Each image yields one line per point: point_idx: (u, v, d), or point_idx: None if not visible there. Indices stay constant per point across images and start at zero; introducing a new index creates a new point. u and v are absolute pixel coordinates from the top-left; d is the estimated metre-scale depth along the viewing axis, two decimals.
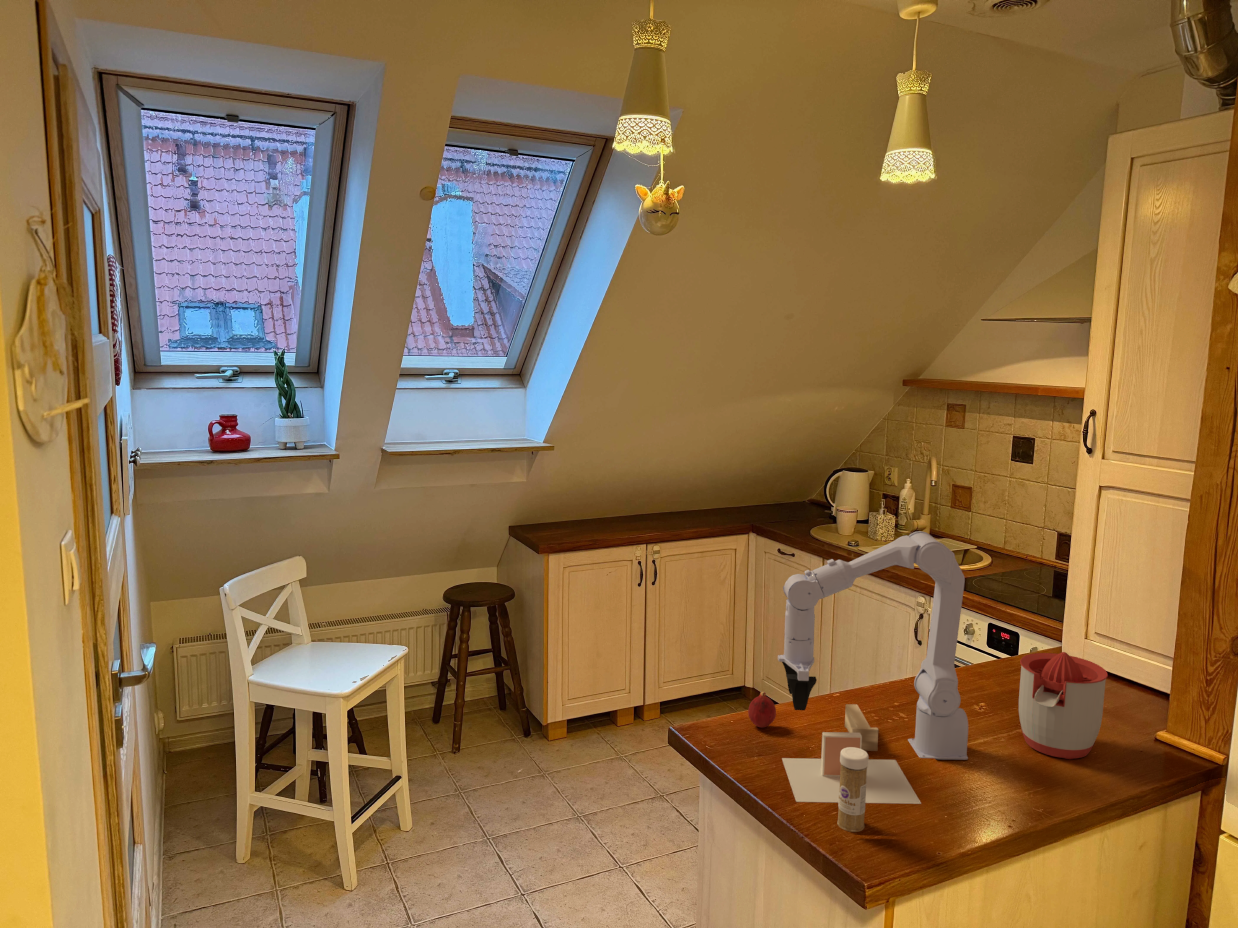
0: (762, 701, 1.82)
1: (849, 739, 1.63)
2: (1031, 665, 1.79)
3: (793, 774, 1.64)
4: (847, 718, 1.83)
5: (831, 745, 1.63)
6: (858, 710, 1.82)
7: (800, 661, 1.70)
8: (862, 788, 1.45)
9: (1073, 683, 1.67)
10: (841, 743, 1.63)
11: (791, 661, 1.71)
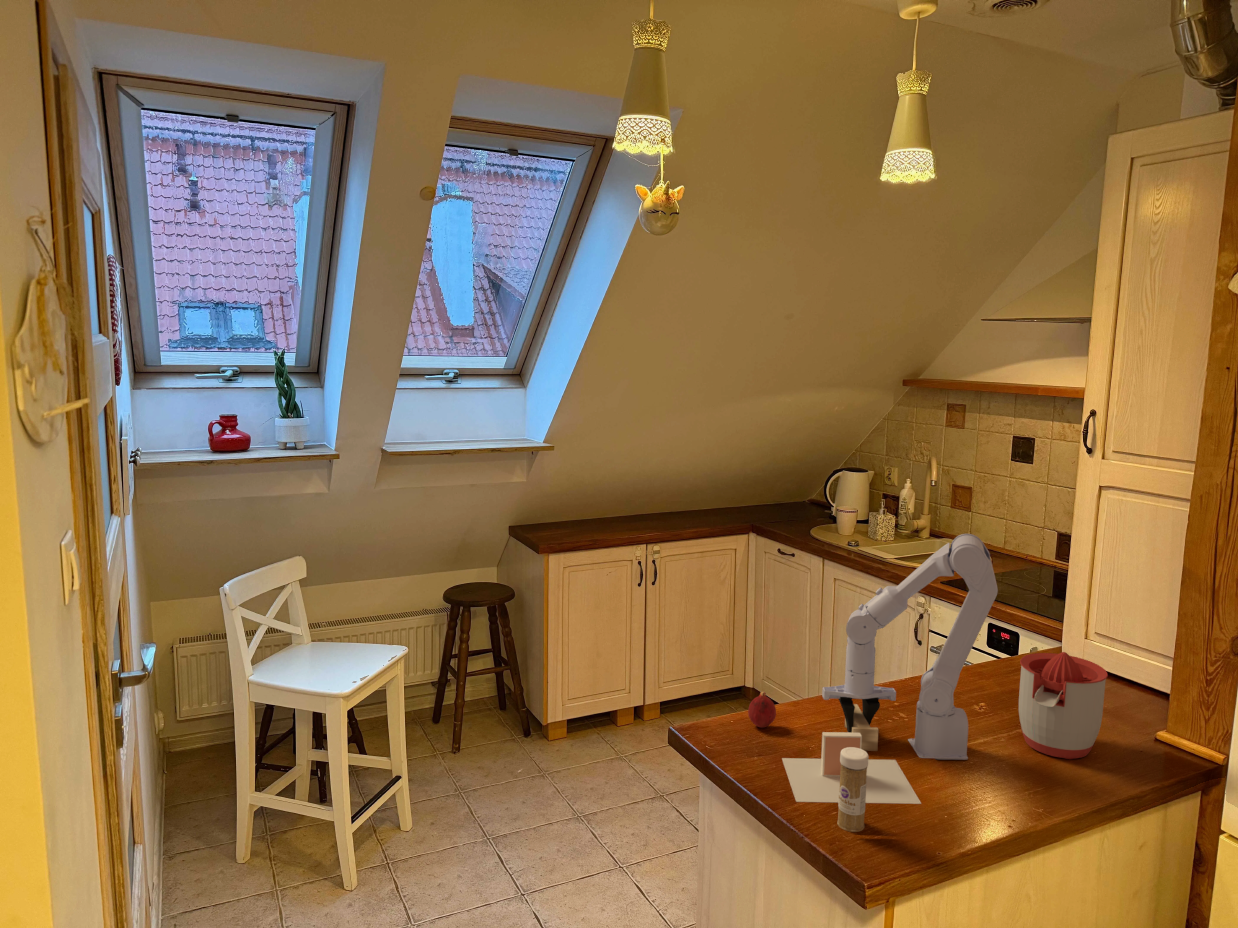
0: (762, 700, 1.82)
1: (849, 739, 1.63)
2: (1031, 665, 1.79)
3: (793, 774, 1.64)
4: None
5: (831, 745, 1.63)
6: (858, 710, 1.82)
7: (845, 688, 1.79)
8: (862, 788, 1.45)
9: (1073, 683, 1.67)
10: (841, 743, 1.63)
11: (845, 685, 1.80)
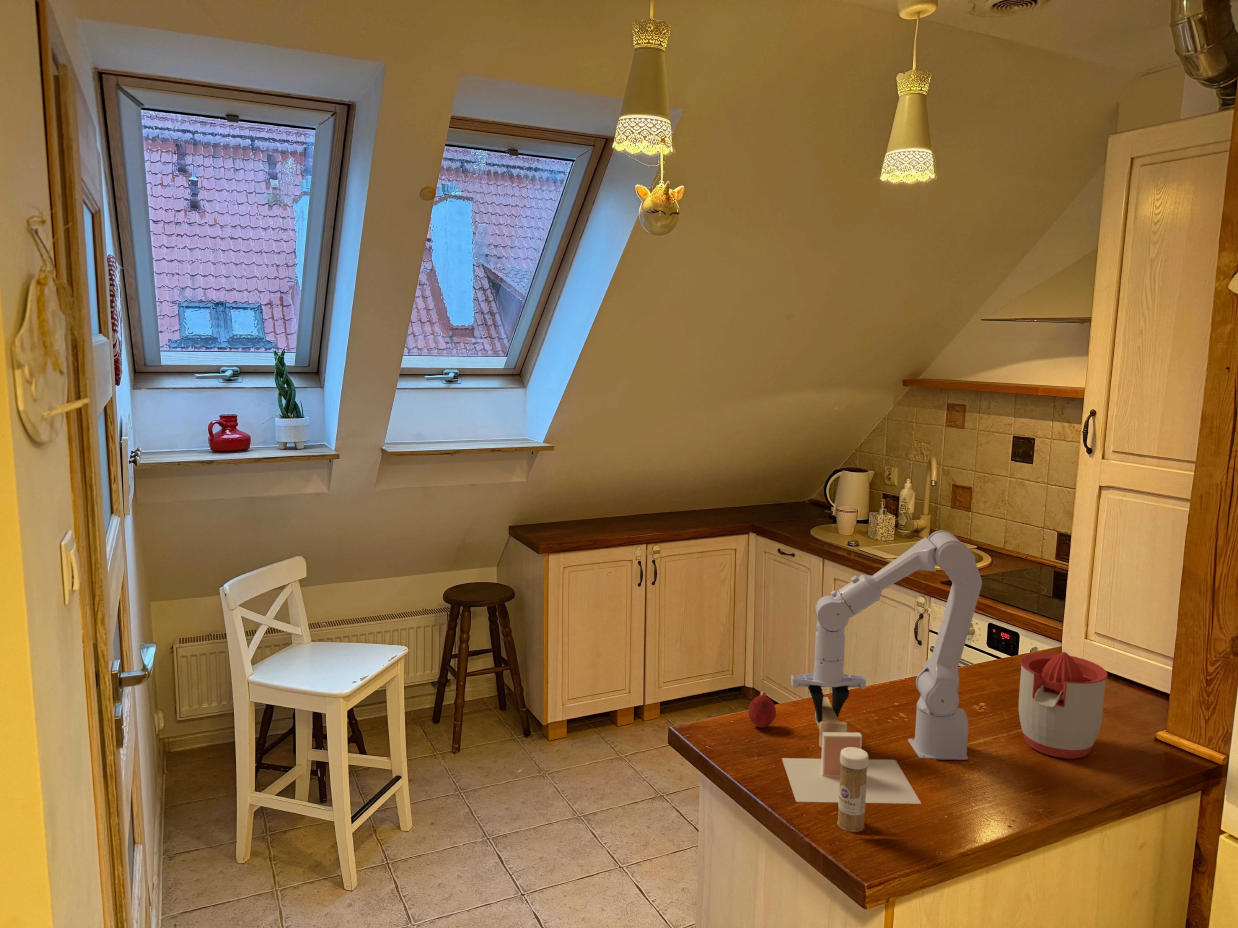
0: (762, 701, 1.82)
1: (849, 739, 1.63)
2: (1031, 665, 1.79)
3: (793, 774, 1.64)
4: None
5: (831, 745, 1.63)
6: (828, 703, 1.78)
7: (814, 676, 1.75)
8: (862, 788, 1.45)
9: (1073, 683, 1.67)
10: (841, 743, 1.63)
11: None
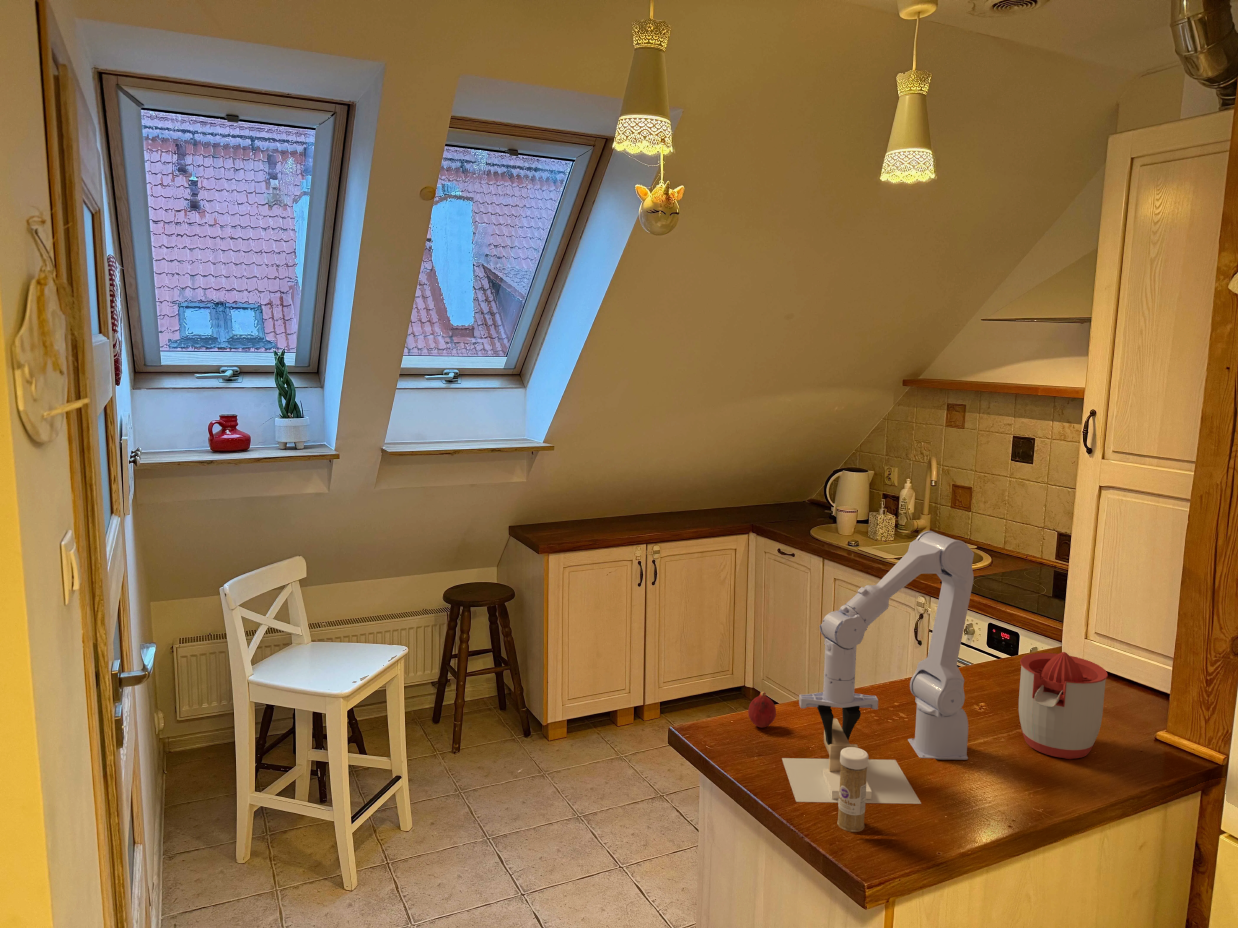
0: (762, 701, 1.82)
1: None
2: (1031, 665, 1.79)
3: (793, 774, 1.64)
4: None
5: None
6: (837, 725, 1.70)
7: (823, 695, 1.66)
8: (862, 788, 1.45)
9: (1073, 683, 1.67)
10: None
11: None
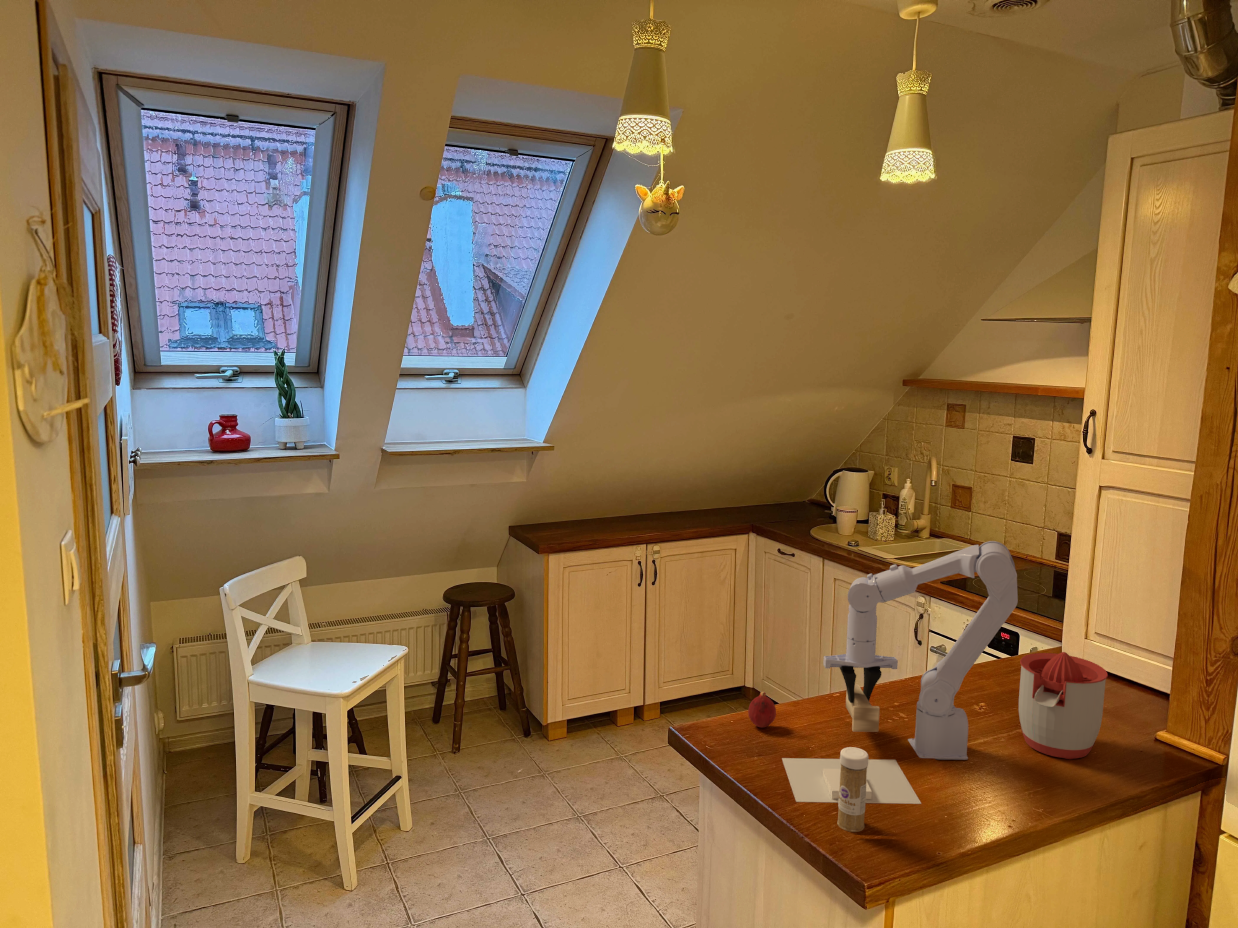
0: (762, 701, 1.82)
1: None
2: (1031, 665, 1.79)
3: (793, 774, 1.64)
4: None
5: None
6: (859, 689, 1.81)
7: (846, 656, 1.78)
8: (862, 788, 1.45)
9: (1073, 683, 1.67)
10: None
11: None
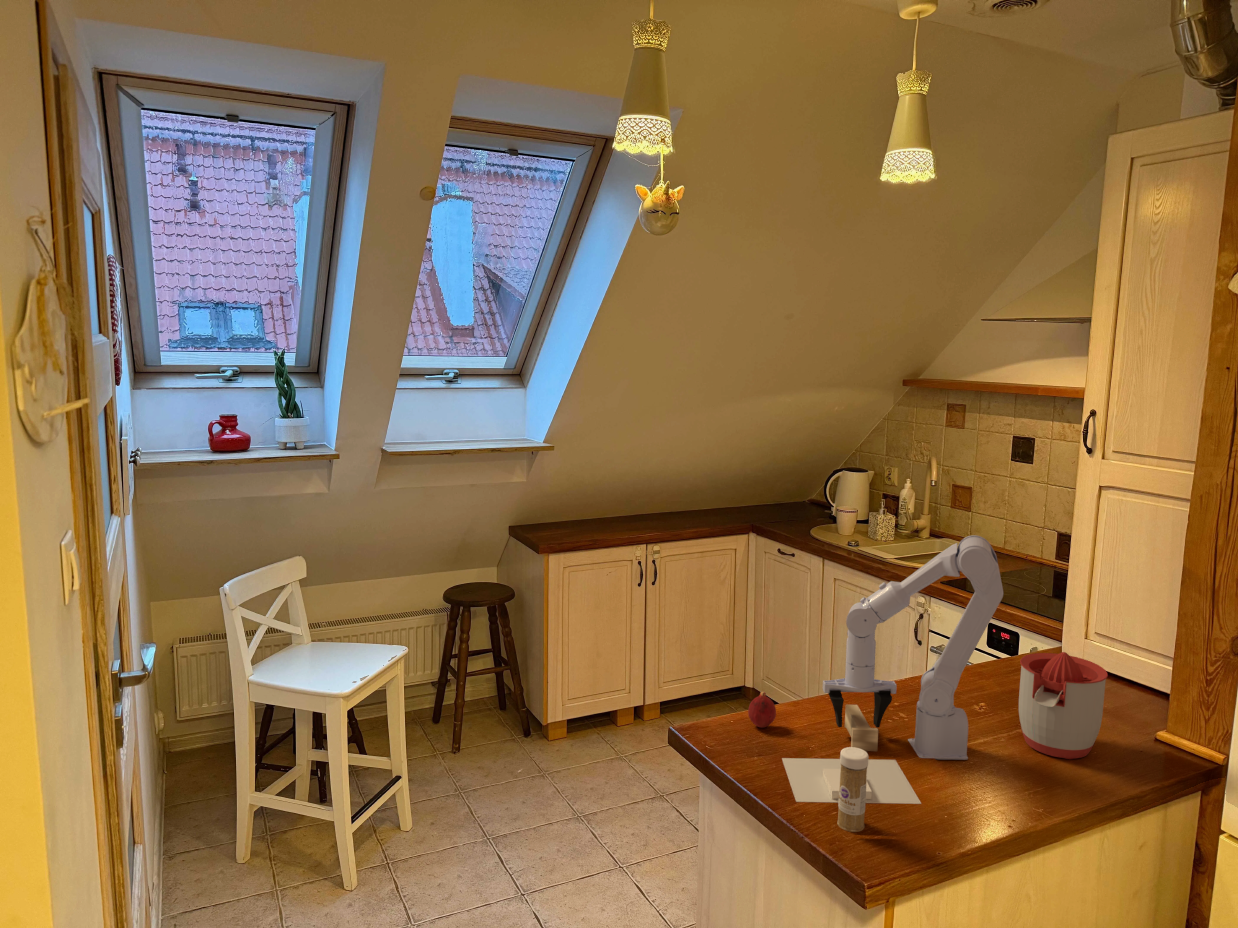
0: (762, 700, 1.82)
1: None
2: (1031, 665, 1.79)
3: (793, 774, 1.64)
4: (847, 718, 1.83)
5: None
6: (858, 710, 1.82)
7: (845, 681, 1.78)
8: (862, 788, 1.45)
9: (1073, 683, 1.67)
10: None
11: None
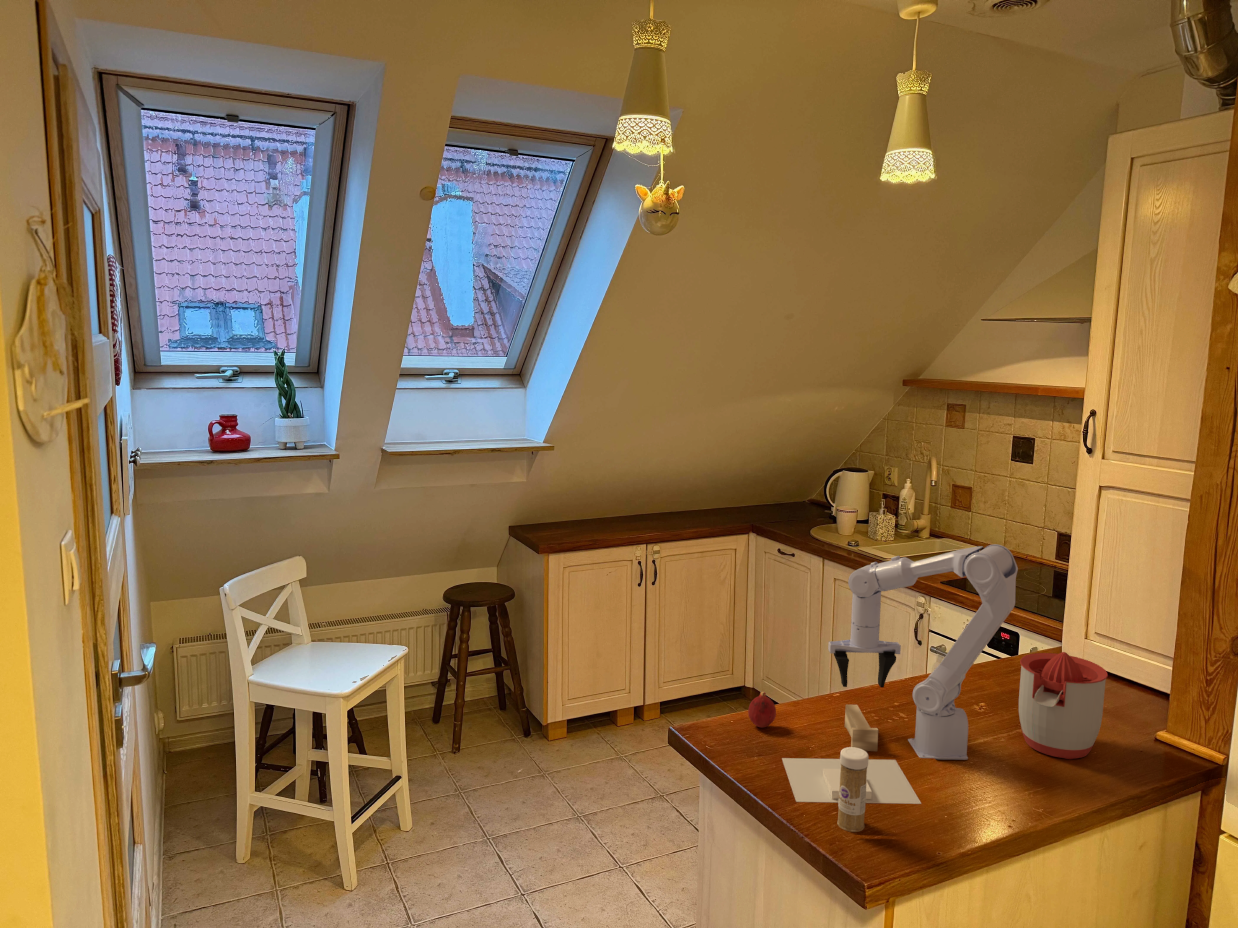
0: (762, 701, 1.82)
1: None
2: (1031, 665, 1.79)
3: (793, 774, 1.64)
4: (847, 718, 1.83)
5: None
6: (858, 710, 1.82)
7: (850, 642, 1.82)
8: (862, 788, 1.45)
9: (1073, 683, 1.67)
10: None
11: None
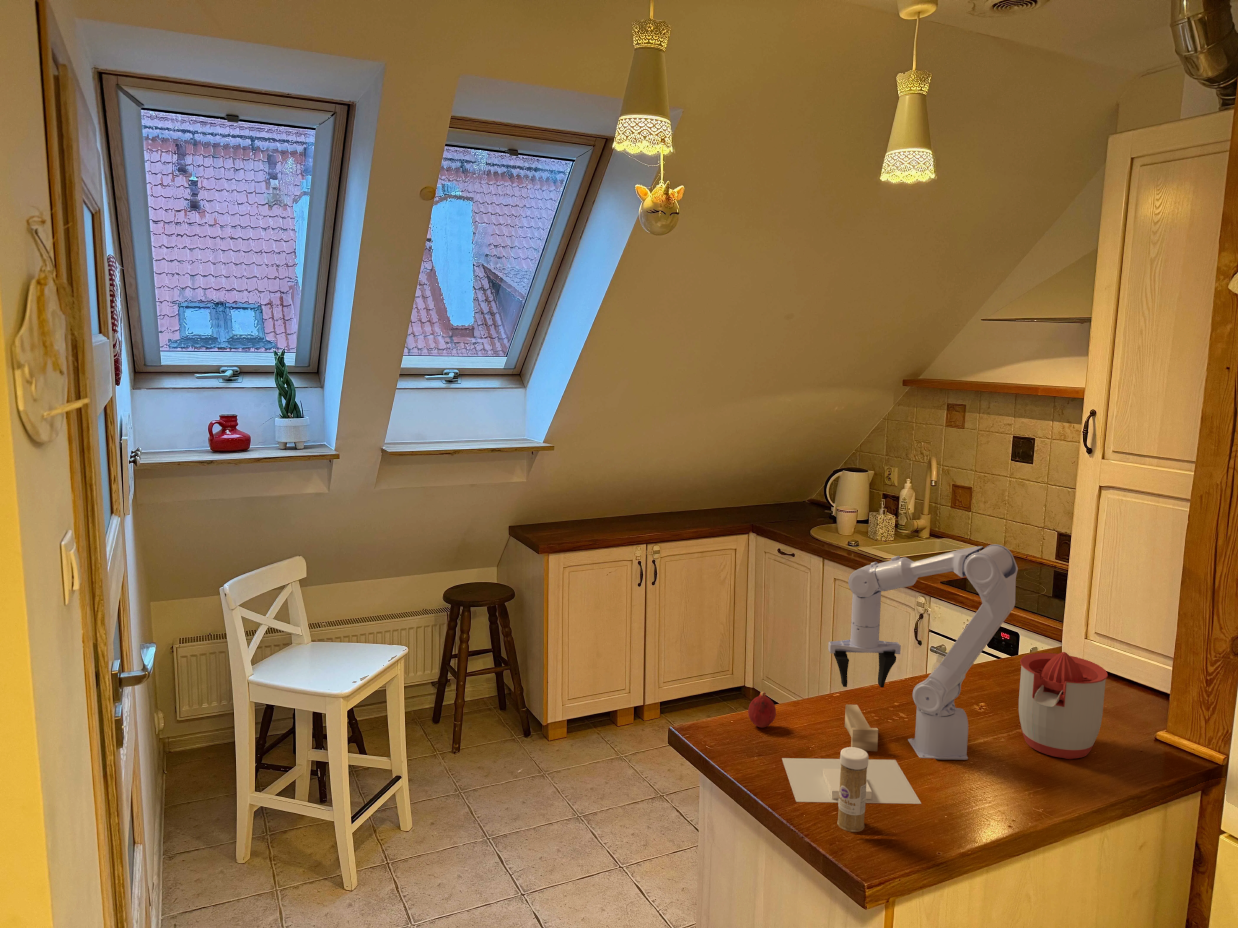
0: (762, 700, 1.82)
1: None
2: (1031, 665, 1.79)
3: (793, 774, 1.64)
4: (847, 718, 1.83)
5: None
6: (858, 710, 1.82)
7: (850, 642, 1.82)
8: (862, 788, 1.45)
9: (1073, 683, 1.67)
10: None
11: None
